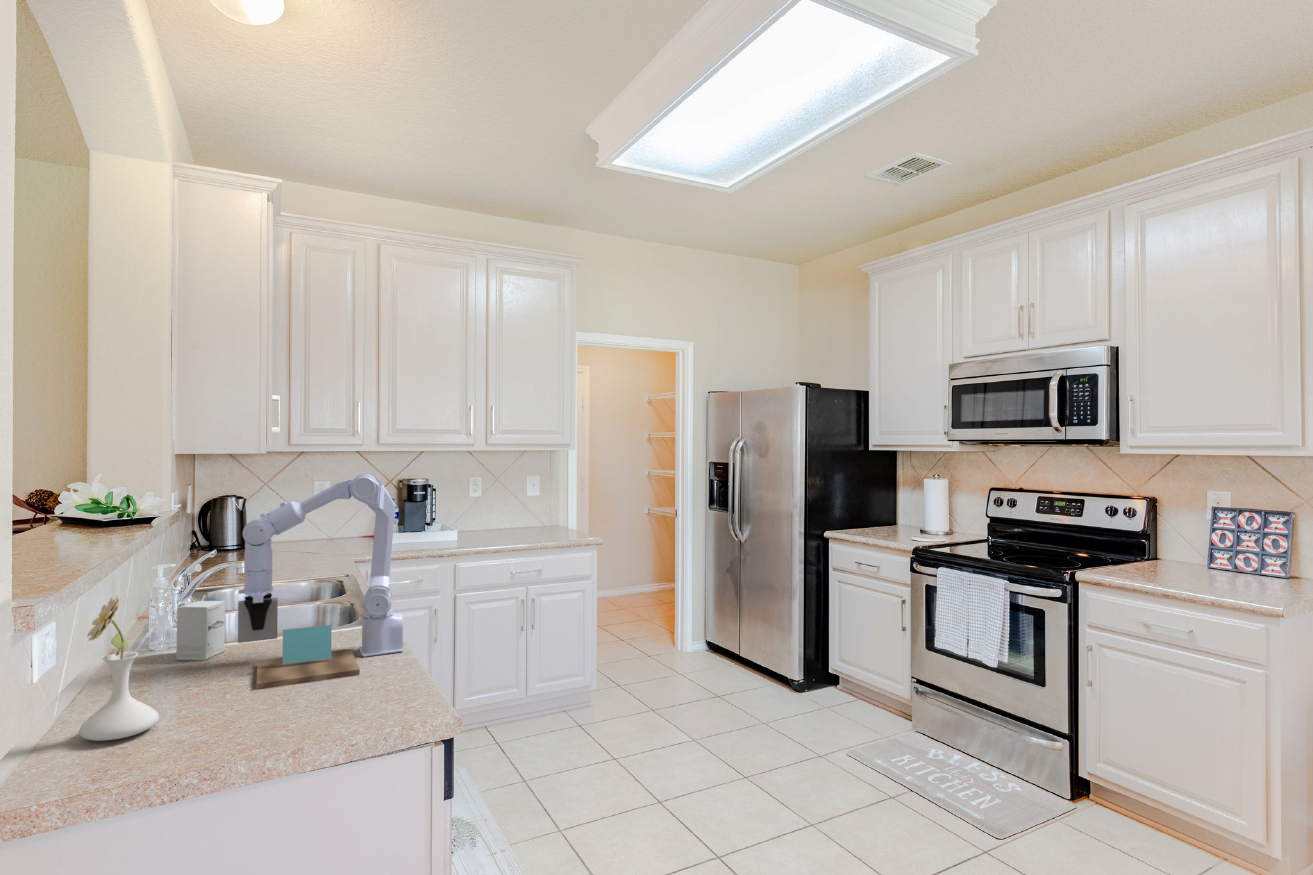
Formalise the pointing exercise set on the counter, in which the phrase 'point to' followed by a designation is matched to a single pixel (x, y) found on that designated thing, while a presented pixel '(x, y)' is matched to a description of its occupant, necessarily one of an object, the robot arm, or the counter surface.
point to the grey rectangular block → (246, 628)
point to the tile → (306, 644)
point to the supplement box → (200, 630)
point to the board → (305, 670)
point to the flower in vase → (117, 690)
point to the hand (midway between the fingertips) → (258, 627)
